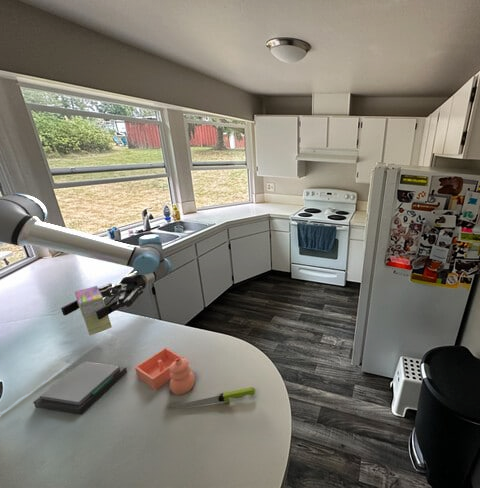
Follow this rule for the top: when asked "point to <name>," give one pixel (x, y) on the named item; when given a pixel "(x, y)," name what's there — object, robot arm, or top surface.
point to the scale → (80, 388)
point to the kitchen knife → (217, 398)
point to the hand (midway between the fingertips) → (80, 313)
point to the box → (92, 309)
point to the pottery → (166, 371)
